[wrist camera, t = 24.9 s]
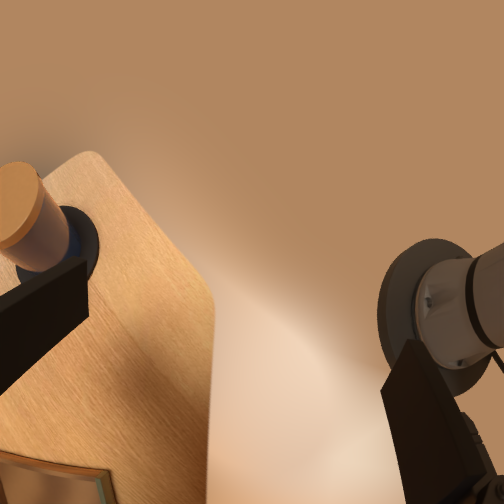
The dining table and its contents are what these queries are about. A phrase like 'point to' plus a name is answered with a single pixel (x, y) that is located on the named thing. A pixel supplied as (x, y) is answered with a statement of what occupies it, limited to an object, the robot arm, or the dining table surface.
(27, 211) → the jar
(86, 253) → the coaster
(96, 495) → the drawer
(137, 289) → the dining table surface
